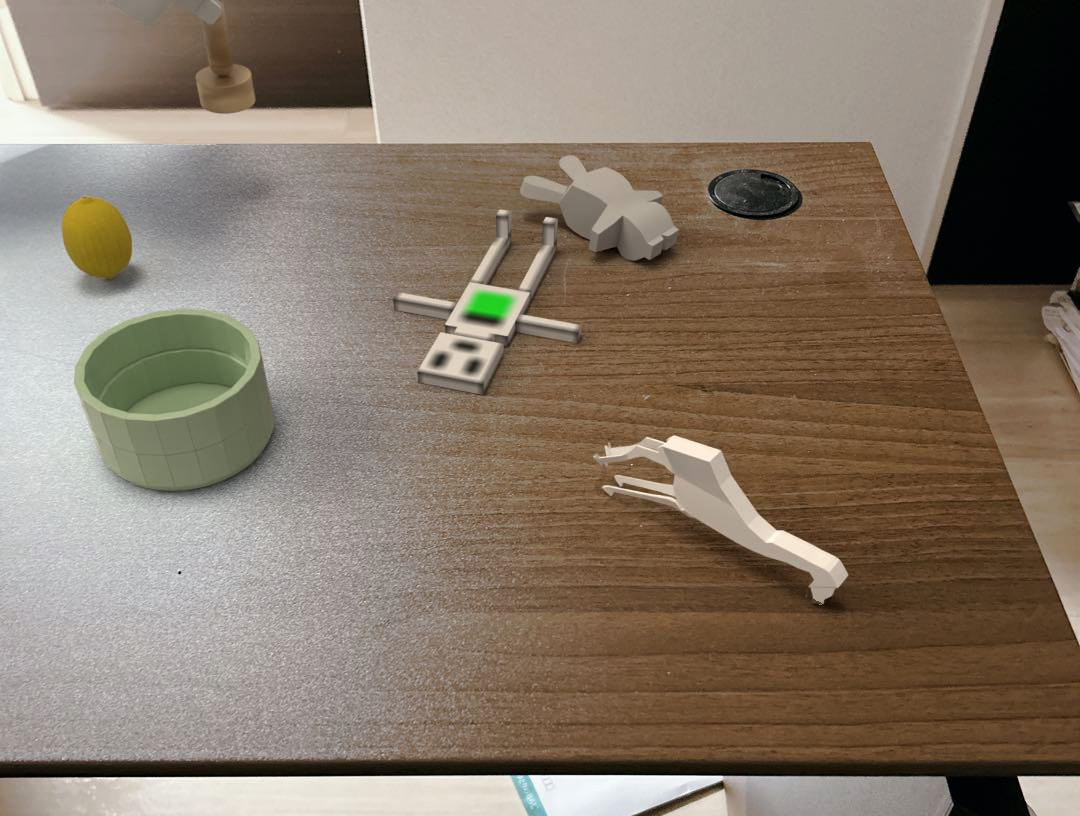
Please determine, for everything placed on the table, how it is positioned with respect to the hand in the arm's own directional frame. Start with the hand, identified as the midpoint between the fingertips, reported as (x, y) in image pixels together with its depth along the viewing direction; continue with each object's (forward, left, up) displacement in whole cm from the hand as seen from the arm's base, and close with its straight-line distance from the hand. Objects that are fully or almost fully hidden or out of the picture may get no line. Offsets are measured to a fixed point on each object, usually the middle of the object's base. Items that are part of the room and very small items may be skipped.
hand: (218, 7), depth 99 cm
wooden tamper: (-1, 0, -8) cm, 8 cm away
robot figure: (+25, -18, -18) cm, 36 cm away
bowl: (+4, -36, -18) cm, 40 cm away
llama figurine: (+43, -44, -18) cm, 64 cm away
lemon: (-9, -16, -18) cm, 26 cm away
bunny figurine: (+34, -4, -18) cm, 39 cm away
